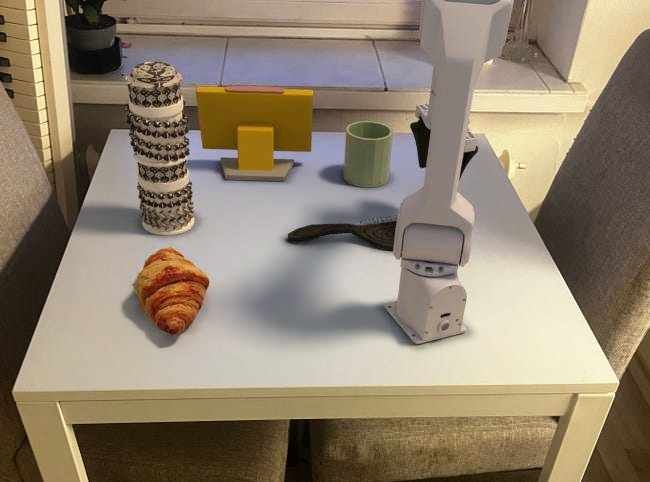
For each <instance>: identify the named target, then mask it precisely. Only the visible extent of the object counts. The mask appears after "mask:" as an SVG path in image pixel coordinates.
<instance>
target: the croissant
mask: <svg viewBox="0 0 650 482" xmlns="http://www.w3.org/2000/svg"><path fill="white" fill-rule="evenodd" d="M209 287H210V279H209V276H208V275H207V274H206V273H205V272H204V271H203V270H202V269H201V268H200V267H197V266H196V265H195V264H194V263H193V262H192V261H191V260H189V259H187V258H185V256H184V255H183V254H182V253H181V252H179V251H177V250H176V249H174V248H173V247H172V246H169V247H165V248H161V249H159V250H157V251H155V253H153V254H150V255H149V256H148V258H147V259H145V261H144V264H143V267H142V270H140V271H139V272H138V274H137V276H136V279H135V282H134V289H135V293H136V297H137V299H138V301H139V303H140V306H141V307H142V308H143V310H144V312H145V314H147V316H148V318H150V319H151V321H152V322H153V323H154V324H155V325H156V328H157V330H159V331H162V332H163V333H165V334H168V335H170V336H177V335H180V334H181V333H183V332H184V330H185V328H187V327H189V326H190V325H191V324H193V322H194V321H195V320H196V317H197V314H198V313H199V312H200V310H201V309H202V307H203V305H204V299H205V296H206V294H207V290H208V289H209Z"/></svg>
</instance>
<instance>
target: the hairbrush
mask: <svg viewBox="0 0 650 482" xmlns="http://www.w3.org/2000/svg"><path fill="white" fill-rule="evenodd" d="M391 217H392V215H389V218H390V221H388V218H385V221H384V219H383V216H380V217H379V218H378V217H377V218H376V220H374V219H375V218H374V217H372V218H368V220H369V223H366V224H362V222H364V220H362V219H361V220H360V221H359V224H354V223H349V222H348V223H345V222H344V223H343V222H342V223H340V222H339V223H313V224H308V225H304V226H301V227H297V228H296V229H294V230H292V231H290V232H289V233H287V241H288V243H303V242H308V241H312V240H315V239H319V238H324V237H328V236H330V235H333V236H334V235H350V234H351V235H352V236H355V238H358V239H359V240H361V241H363V242H365V243H367V244H369V245H371V246H373V247H375V248H377V249H381V250H386V251H389V252H393V248H394V239H395V231H396V223H397V217H398V214H395V220H393V218H391ZM371 219H372V220H373V223H371V221H370V220H371ZM378 219H381V222H379V221H380V220H378ZM365 222H367V219H365Z"/></svg>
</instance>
